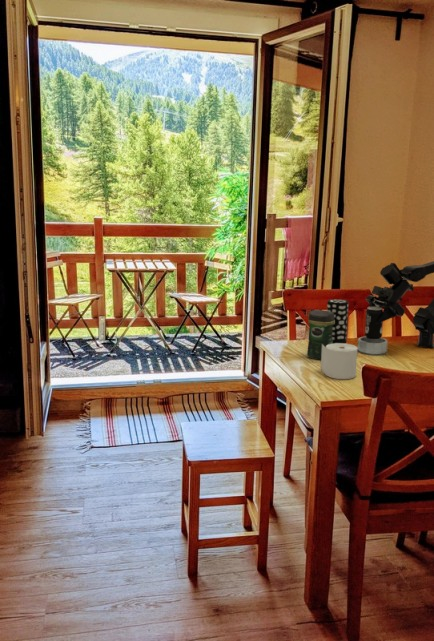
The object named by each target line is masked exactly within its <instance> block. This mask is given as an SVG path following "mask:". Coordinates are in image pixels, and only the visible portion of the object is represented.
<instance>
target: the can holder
mask: <svg viewBox="0 0 434 641" xmlns="http://www.w3.org/2000/svg"><path fill="white" fill-rule="evenodd" d="M357 349H358V350H357V353H360V354H362V355H367V356H385V355H387V354H388V339H386V338H385V337H381V338H379V339H369V338H367V337H366V336H361V337H358V338H357Z"/></svg>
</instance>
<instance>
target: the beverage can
mask: <svg viewBox="0 0 434 641" xmlns="http://www.w3.org/2000/svg"><path fill="white" fill-rule="evenodd" d="M383 311H384V309H383V307H370V306H368V307H367V310H366V311H365V318H366V319H365V322H364V323H365V328H364V335H365V336H366V337H367V338H369V339H379V338H383V326H384V325H383V324H384V321H383V322H381V323H379V324H377V323H376V321H377V319H378V318H379V316H380V315H381V314H382V312H383ZM365 336H364V337H365Z"/></svg>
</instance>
